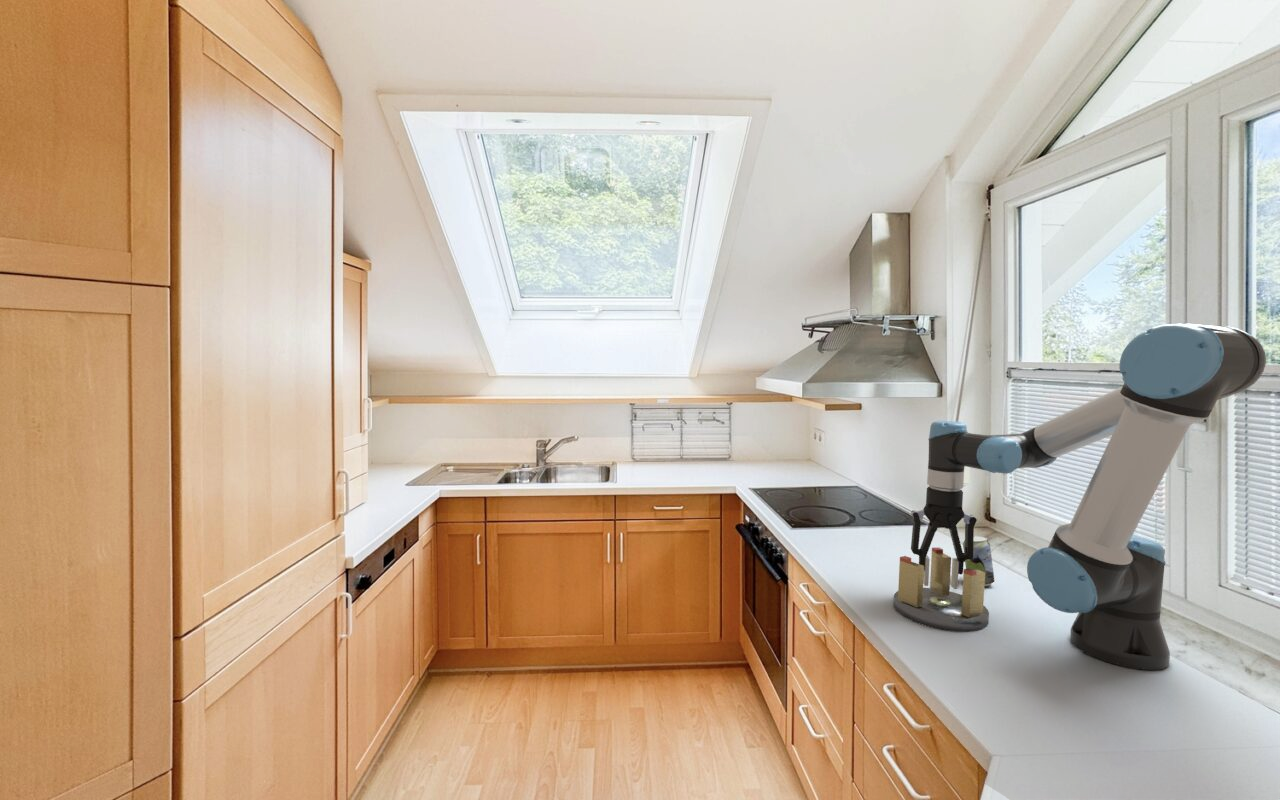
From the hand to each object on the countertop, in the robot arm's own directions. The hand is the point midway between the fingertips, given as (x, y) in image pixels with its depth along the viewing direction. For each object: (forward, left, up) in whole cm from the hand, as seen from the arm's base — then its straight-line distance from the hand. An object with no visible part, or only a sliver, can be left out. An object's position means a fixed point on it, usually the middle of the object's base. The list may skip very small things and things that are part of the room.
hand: (939, 585), depth 139 cm
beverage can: (+2, -19, -4) cm, 20 cm away
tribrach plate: (-4, +6, -4) cm, 8 cm away
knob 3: (-11, +5, -2) cm, 12 cm away
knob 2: (0, 0, -2) cm, 2 cm away
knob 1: (-1, +12, -2) cm, 12 cm away
